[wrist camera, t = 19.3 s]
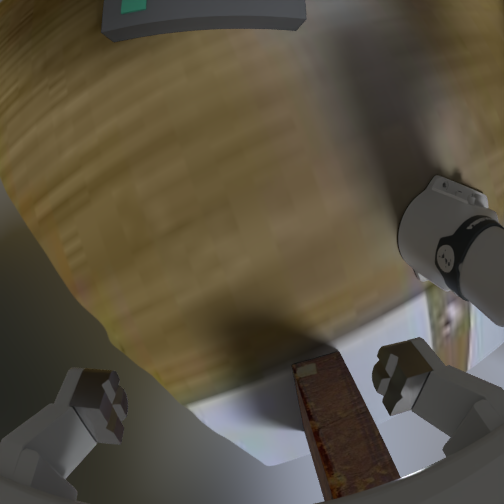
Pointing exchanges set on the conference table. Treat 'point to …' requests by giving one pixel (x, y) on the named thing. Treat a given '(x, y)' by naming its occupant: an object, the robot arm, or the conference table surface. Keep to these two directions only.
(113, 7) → the docking mount
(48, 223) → the conference table surface
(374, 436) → the book
